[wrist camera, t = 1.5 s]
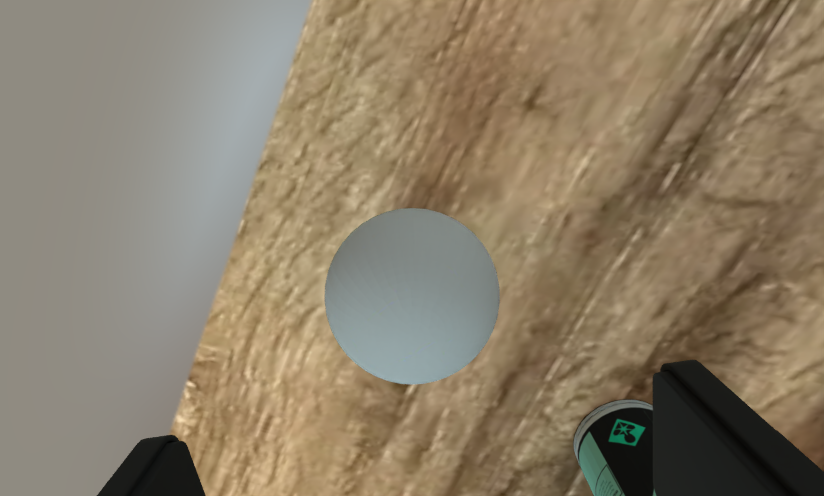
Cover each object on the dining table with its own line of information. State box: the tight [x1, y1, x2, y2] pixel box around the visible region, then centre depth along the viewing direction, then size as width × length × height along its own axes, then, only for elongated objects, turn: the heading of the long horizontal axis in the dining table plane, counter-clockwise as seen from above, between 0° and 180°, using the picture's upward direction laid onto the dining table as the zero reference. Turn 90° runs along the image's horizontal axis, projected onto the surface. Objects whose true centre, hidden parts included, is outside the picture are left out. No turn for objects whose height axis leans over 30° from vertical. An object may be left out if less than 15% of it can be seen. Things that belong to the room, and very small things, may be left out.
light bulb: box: [325, 208, 500, 384], centre depth 18 cm, size 6×6×10 cm
